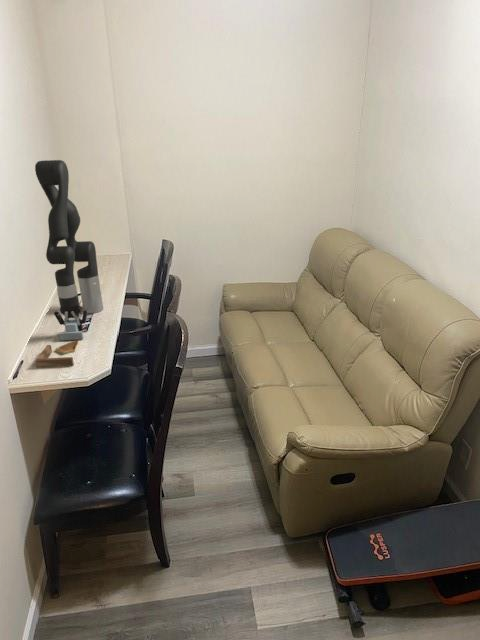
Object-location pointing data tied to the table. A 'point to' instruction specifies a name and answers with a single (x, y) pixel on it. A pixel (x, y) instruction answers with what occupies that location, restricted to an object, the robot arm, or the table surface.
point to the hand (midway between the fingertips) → (74, 332)
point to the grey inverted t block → (71, 331)
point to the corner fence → (52, 359)
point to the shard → (67, 347)
